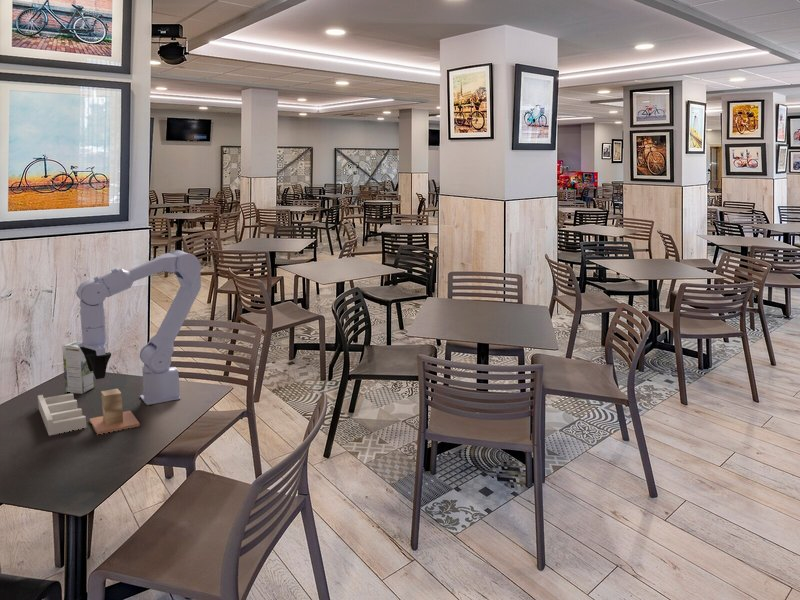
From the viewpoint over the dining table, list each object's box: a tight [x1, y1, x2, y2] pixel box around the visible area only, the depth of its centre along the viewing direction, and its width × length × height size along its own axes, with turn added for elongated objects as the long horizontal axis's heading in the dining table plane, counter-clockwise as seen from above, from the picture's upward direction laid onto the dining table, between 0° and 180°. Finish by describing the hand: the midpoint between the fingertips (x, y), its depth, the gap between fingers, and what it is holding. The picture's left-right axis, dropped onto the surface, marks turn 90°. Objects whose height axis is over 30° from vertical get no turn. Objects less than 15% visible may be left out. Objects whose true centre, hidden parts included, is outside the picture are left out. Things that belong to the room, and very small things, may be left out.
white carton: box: [62, 340, 96, 395], centre depth 173 cm, size 6×6×14 cm
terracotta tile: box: [89, 410, 141, 436], centre depth 153 cm, size 10×10×1 cm
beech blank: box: [100, 388, 124, 426], centre depth 151 cm, size 4×4×8 cm
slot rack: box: [37, 393, 88, 437], centre depth 154 cm, size 8×20×4 cm, turn 37°
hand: (96, 374), depth 159 cm, fingers open, 7 cm apart
